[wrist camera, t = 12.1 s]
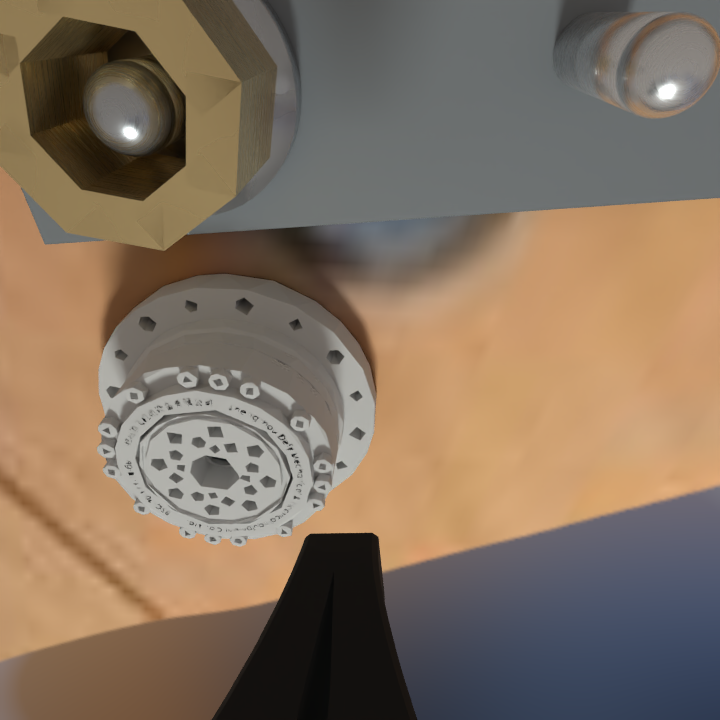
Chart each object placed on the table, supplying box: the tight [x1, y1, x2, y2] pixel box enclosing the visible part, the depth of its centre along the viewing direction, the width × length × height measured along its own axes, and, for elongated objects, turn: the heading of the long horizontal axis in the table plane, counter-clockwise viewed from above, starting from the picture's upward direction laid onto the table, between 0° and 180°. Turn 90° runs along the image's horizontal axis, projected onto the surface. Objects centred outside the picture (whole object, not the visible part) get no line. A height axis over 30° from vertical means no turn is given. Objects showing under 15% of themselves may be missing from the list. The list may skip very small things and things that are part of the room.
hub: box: [83, 0, 302, 215], centre depth 12 cm, size 6×6×4 cm
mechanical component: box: [97, 274, 376, 546], centre depth 19 cm, size 10×4×10 cm
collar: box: [0, 0, 278, 251], centre depth 12 cm, size 5×5×4 cm
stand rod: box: [553, 12, 720, 119], centre depth 11 cm, size 2×2×5 cm
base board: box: [21, 0, 720, 244], centre depth 14 cm, size 20×8×1 cm, turn 95°
